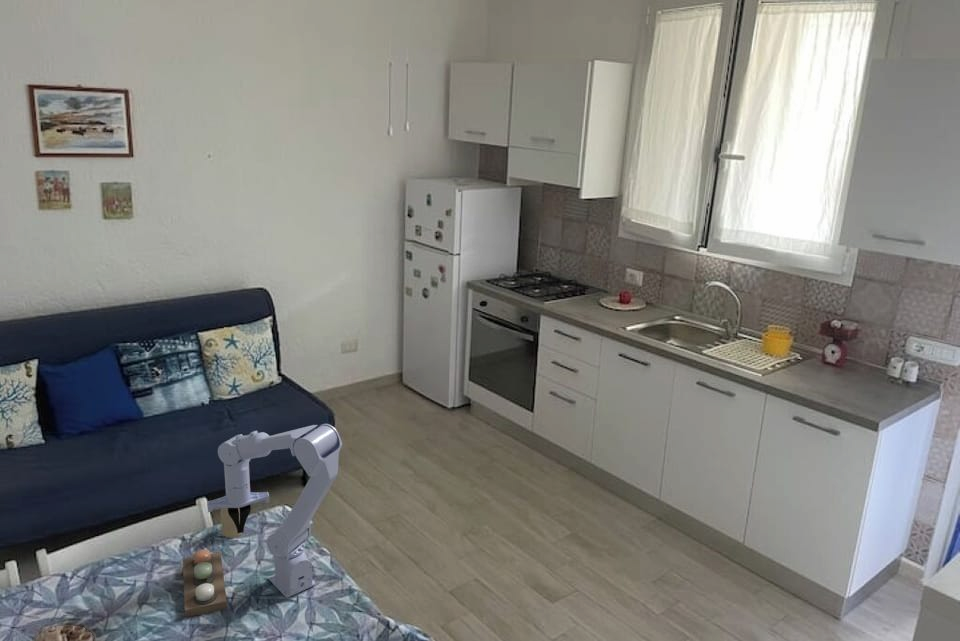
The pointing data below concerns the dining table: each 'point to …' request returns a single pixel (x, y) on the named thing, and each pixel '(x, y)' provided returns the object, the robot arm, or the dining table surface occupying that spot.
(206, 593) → the button cream
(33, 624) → the dining table surface
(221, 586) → the button panel
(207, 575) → the button sage
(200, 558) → the button terracotta
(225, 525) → the candle
